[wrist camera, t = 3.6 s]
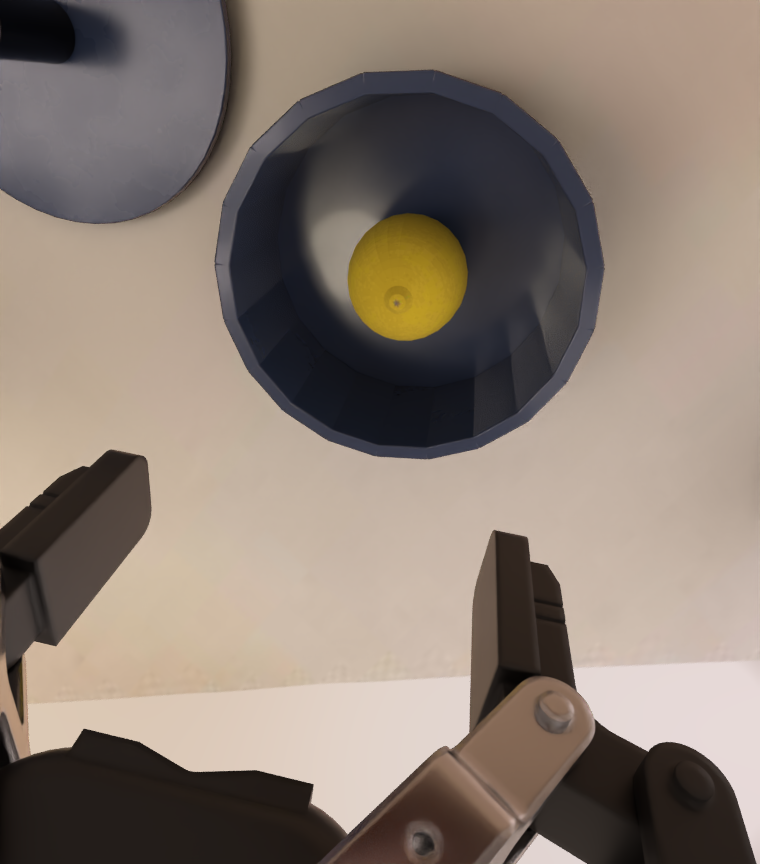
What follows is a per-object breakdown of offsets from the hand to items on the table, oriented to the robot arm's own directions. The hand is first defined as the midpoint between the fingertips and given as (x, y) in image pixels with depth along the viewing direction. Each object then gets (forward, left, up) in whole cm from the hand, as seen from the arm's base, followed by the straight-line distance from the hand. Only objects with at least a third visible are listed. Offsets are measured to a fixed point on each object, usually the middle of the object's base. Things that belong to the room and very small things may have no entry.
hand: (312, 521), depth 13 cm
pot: (-1, +1, -21) cm, 21 cm away
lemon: (-1, +1, -21) cm, 21 cm away
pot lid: (-19, -7, -21) cm, 29 cm away
